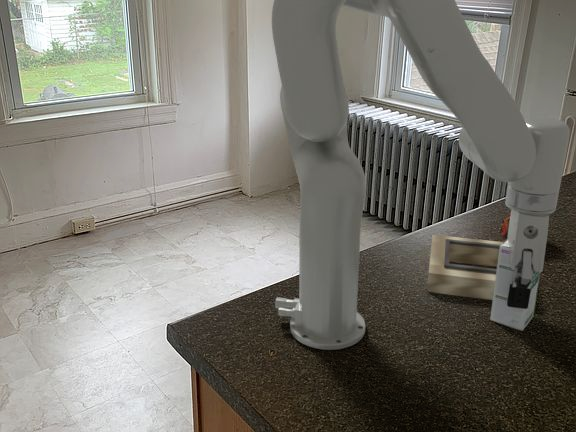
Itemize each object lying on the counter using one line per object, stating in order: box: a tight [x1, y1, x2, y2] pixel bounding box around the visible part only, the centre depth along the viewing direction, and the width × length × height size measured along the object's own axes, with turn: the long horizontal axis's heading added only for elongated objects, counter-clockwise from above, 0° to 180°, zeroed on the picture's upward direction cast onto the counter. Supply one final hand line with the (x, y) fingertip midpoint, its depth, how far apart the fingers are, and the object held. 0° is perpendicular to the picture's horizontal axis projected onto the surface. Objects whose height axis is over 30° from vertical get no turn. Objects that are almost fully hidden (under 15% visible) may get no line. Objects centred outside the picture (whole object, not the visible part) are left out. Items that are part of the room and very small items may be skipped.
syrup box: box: [489, 239, 542, 331], centre depth 99 cm, size 6×6×14 cm
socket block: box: [426, 234, 505, 301], centre depth 115 cm, size 17×17×5 cm
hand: (515, 294), depth 100 cm, fingers closed on syrup box, 7 cm apart
